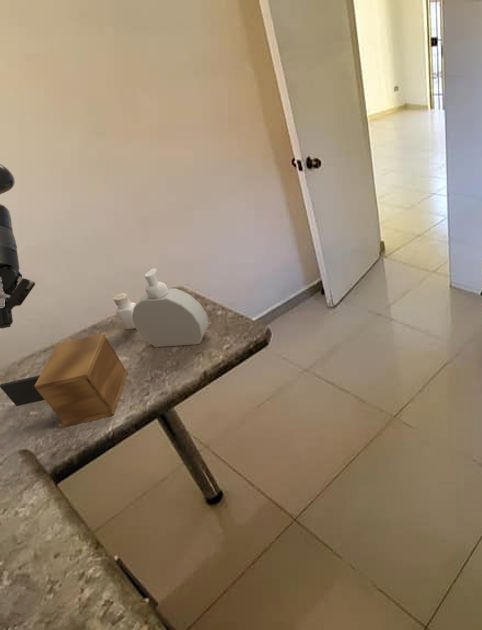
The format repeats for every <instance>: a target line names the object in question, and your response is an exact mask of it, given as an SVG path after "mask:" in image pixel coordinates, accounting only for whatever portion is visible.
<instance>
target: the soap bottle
mask: <svg viewBox="0 0 482 630" xmlns="http://www.w3.org/2000/svg"><path fill="white" fill-rule="evenodd" d="M157 272H158V269H157V268H156V267H153V268H152V269H150V270H148V271H147V272H146V273H145V274H144V278H145V280H146V281H147V284H148V285H147V286H146V287H145V292H146V293H145V294H144V295H143V296H142V297H141V299H140V300H139V301H138V302H137V303H136V306H135V307H134V310H133V315H132V319H133V322H134V325H135V328H134V329H135V330H136V331H137V333H138V334H139V335H140V336H141V337H142V339H143V340H144V341H146V342H147V343H148V344H150V345H152V346H153V348H162V347H163V348H164V347H178V346H191V345H192V346H193V345H194V346H195V345H200V344H201V342H202V341H203V339H204V337H205V335H206V333H207V331H208V328H209V326H210V325H209V319H208V313H207V312H206V310H205V309H204V307H203V306H202V304H201V303H200V302H199V301H198V300H197V299H196V298H194V297H193V296H192V295H191V294H189V293H187V292H185V291H183V290H180V289H178V288H176V287H175V288H174V287H173V288H168V287H167V285H166V283H165V282H162V281H159V280H158V279H157V276H156V275H157Z"/></svg>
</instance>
